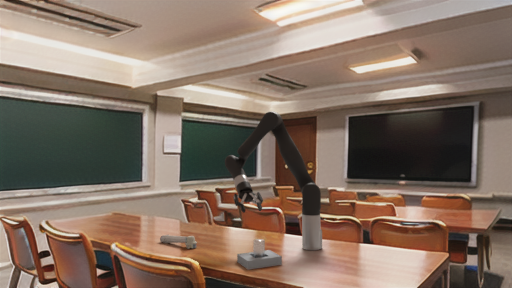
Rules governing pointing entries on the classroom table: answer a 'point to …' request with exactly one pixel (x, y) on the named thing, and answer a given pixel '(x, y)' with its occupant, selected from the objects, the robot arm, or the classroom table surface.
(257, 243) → the steel bushing
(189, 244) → the grey elongated piece
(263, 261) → the jig plate
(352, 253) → the classroom table surface
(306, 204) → the robot arm
